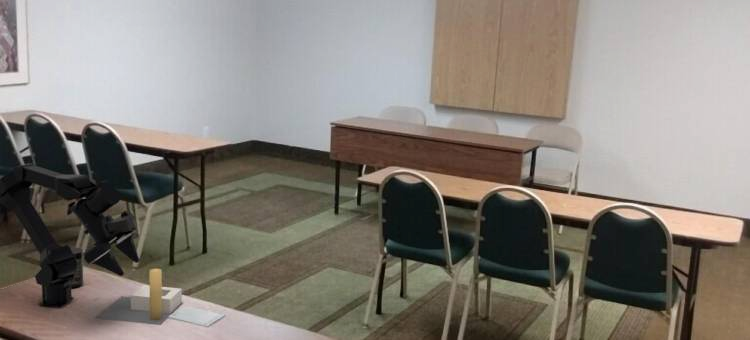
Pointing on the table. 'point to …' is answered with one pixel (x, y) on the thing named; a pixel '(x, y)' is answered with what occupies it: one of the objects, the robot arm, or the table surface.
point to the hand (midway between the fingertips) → (130, 268)
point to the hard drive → (196, 316)
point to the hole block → (169, 299)
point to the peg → (155, 294)
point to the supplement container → (78, 278)
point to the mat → (130, 313)
